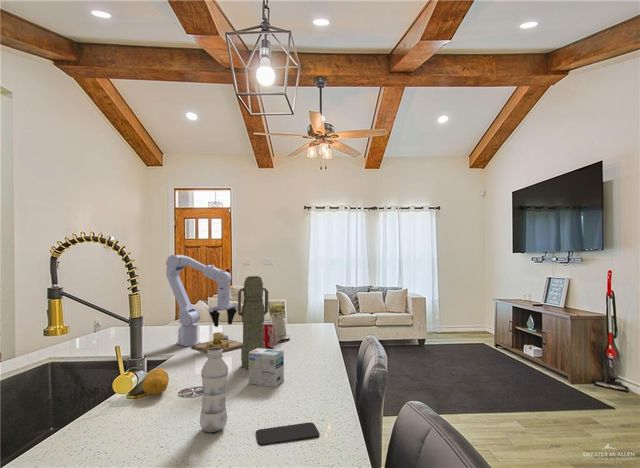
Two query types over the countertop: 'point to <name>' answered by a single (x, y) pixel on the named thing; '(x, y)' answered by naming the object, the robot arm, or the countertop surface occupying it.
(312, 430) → the phone
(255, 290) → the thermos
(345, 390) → the countertop surface
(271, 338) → the soda can
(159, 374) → the potato
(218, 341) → the brass gear
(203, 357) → the countertop surface
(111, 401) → the countertop surface
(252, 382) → the light bulb box
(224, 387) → the plastic bottle
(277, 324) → the white paper bag
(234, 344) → the carrier plate
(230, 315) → the robot arm
